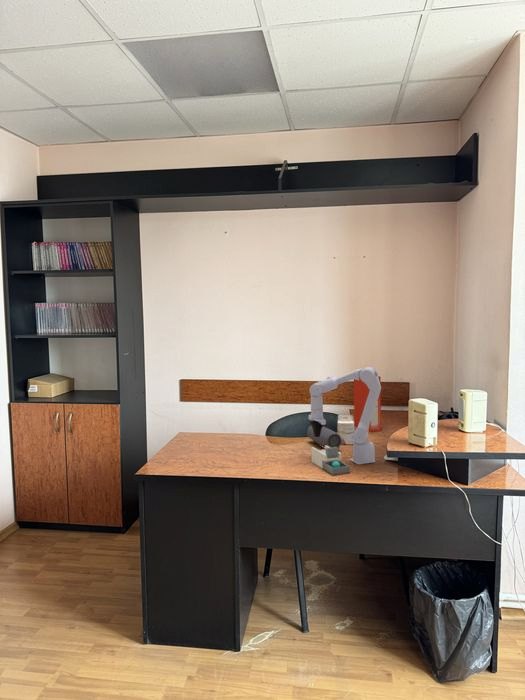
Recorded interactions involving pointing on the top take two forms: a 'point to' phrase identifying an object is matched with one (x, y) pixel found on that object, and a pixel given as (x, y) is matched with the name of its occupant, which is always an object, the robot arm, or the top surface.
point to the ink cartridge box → (345, 429)
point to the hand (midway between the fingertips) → (317, 436)
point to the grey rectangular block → (331, 452)
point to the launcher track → (322, 457)
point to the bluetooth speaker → (325, 437)
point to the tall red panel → (359, 403)
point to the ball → (335, 464)
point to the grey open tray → (339, 470)
